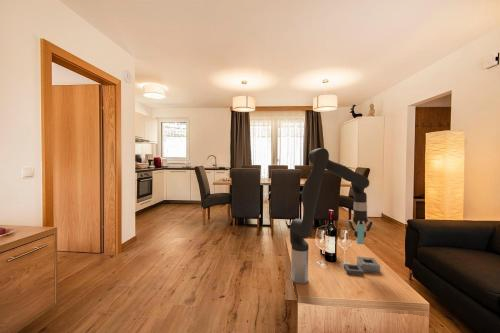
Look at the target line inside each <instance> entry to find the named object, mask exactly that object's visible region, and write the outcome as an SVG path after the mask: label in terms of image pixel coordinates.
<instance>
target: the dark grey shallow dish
mask: <svg viewBox="0 0 500 333" xmlns="http://www.w3.org/2000/svg"><path fill="white" fill-rule="evenodd" d="M343 269H344V270H345V273H346V275H351V276H360V277H362V276H364V273H365V272H364V271H363V270H362V268H361V267H360V265H357V264H353V263H344V264H343Z"/></svg>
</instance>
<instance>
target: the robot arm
mask: <svg viewBox="0 0 500 333" xmlns="http://www.w3.org/2000/svg"><path fill="white" fill-rule="evenodd" d="M307 157H308V161H309V163H310V164H312V167H311V168H312V169H311V172H310V173H309V174H308V176H307V178H306V179H305V182H304V184H303V188H302V191H301V202H302V205H303V215H302V219H301V218H295V219H292V221H291V222H290V225H289V240H290V241H289V242H290V244H291V245H290V246H291V262H290V264H291V265H290V272H291V273H290V280H291V281H292V282H293V283H294V284H295V283H296V284H304V285H305V284H306V283H308V282H309V244H308V242H307V241H306V240H307V239H308V238H309V237H310V236H311V235H312V232H313V229H314V228H313V227H314V219H315V212H316V209H317V208H316V207H317V203H318V200H319V195H320V191H321V186H322V183H323V178H324V174H325V170H326V171H328V172H331V173H332V174H334V175H336V176H338V177H340V178H341V179H343V180H344V181H346V182H350V183H351V188H352V192H353V206H352V207H353V214H352V215H353V217H352V219H348V220H347V221H348V224H349V226H350V229H351V231H354V232H353V233H354V237H355V239H356V238H357V228H358V224H363V225H364V239H365V238H366V237H367V232H369V231H370V230H371V229H372V228H371V227H372V225H373V221H372V220H369V219H368V204H367V203H368V197H367V193H366V192H365V191H364V189H366V188H368V187H369V186H370V180H369V178H368V177H367V176H364V175H362V174H361V173H357V172H356V171H355V170H354V171H353V170H352V169H351V168H349V167H347V166H346V165H344V164H341V163H338V162H335V161H333V160H330V159H329V158H330V154H329V151H328V149H327V148H325V147H320V148H316V149H315V148H314V149H313V150H311V151H310V152H309V153H308V156H307ZM353 222H354V226H353ZM366 224H367V226H366ZM305 239H306V240H305Z"/></svg>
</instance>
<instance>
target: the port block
mask: <svg viewBox="0 0 500 333" xmlns="http://www.w3.org/2000/svg"><path fill="white" fill-rule="evenodd" d="M356 265H360V267H361V268H362V270H363V271H364V273H370V274H381V265H380V263H378V262H377V260H376V259H375V258H374V257H363V256H357V257H356Z"/></svg>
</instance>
